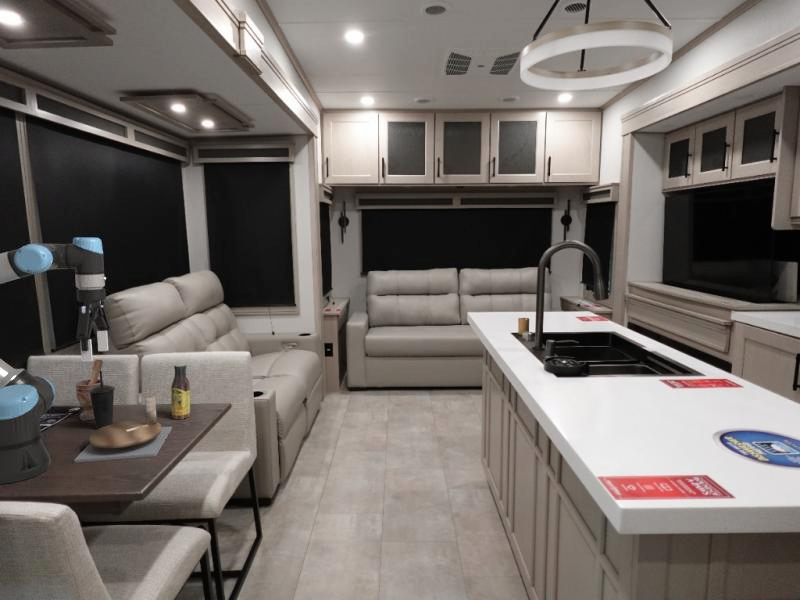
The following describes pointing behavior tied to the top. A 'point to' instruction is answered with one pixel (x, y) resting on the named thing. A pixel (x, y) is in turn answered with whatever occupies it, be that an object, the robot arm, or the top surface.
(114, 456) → the wheel stand
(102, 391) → the drinking cup
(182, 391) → the sauce bottle
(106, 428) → the handwheel
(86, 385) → the mortar and pestle
